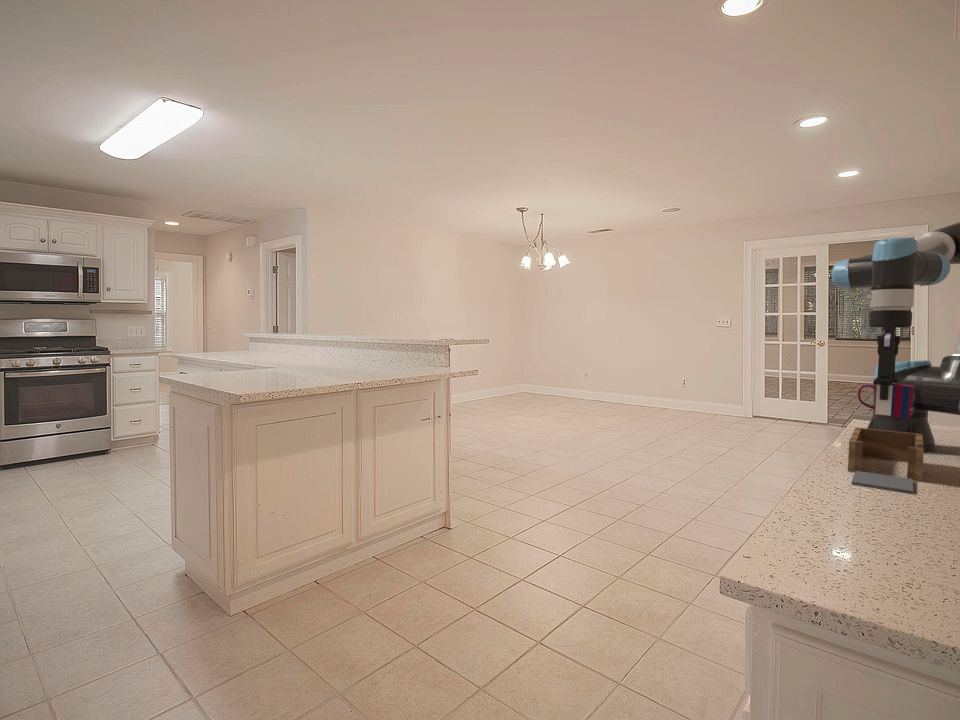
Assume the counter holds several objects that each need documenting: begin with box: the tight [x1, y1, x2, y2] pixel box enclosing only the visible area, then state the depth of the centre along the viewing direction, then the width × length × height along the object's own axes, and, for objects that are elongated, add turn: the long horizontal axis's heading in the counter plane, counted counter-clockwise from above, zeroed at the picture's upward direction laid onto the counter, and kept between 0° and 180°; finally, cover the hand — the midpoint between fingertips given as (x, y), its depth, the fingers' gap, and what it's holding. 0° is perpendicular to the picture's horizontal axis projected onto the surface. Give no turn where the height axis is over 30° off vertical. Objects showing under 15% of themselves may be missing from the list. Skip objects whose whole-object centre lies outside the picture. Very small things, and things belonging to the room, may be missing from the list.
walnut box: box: [847, 427, 925, 482], centre depth 123 cm, size 19×13×7 cm
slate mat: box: [851, 471, 914, 495], centre depth 111 cm, size 10×10×1 cm
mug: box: [857, 383, 915, 418], centre depth 117 cm, size 7×10×7 cm
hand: (883, 412), depth 117 cm, fingers closed on mug, 7 cm apart
